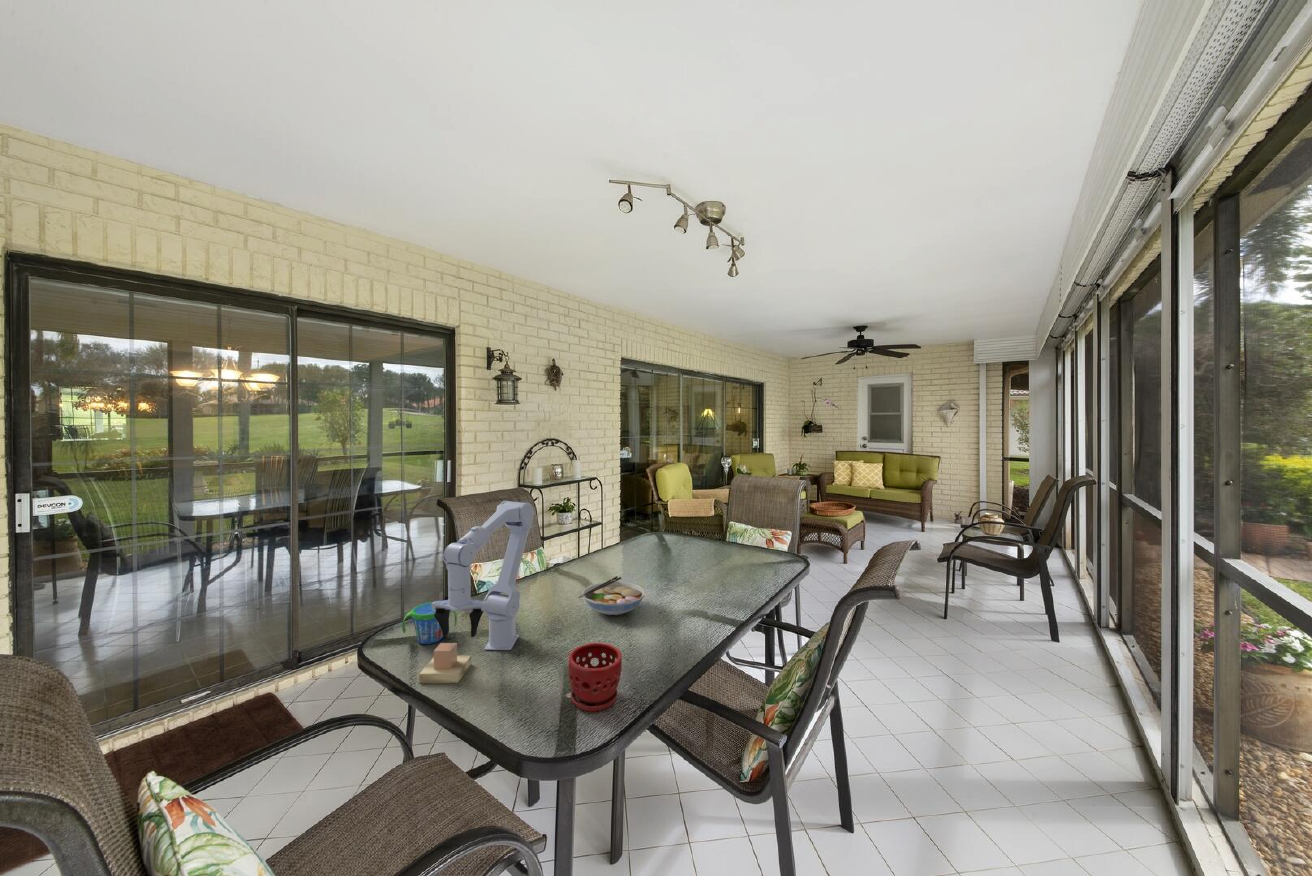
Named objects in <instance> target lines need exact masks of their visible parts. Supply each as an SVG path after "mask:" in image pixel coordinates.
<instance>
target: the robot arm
mask: <svg viewBox="0 0 1312 876" xmlns="http://www.w3.org/2000/svg"><path fill="white" fill-rule="evenodd" d="M534 517H535V511H534V508H533V505H532V504H531V503H530V502H519V501H509V500H503V501H502V502H500V504H498V505H497V506H496V510H495V512H494V513H493V514H492V515H491V516H490V517H489V518H488V519H487V520H486V521H485V522H484V523H483V524H482V525H481V526H479V525H476V526H473V527H471V528H470V530H469V531H468V532H467V533H466V534H465V535H464V536H462V537H461V538H459V540H457V542H451V543H450V544H449V545H447V546H446V547H445V548H444V552H443V554H442V560H443V562H444V563H445V565H446V566H445V569H446V570H447V586H448V587H447V591H448V592H447V593H448V595H447V598H448V599H446V600H434V601H433V603H432V610H433V611H435V610H436V612H435V613H434V617H435V618H436V620H437V621H438V623H439V625H440V627H441V630H442V633H443V638H444V637H447V636H448V635H449V634H450V613H451V612H452V611H456V612H457V611H459V610H460V611H461V610H462V611H471V612H470V613H469V614H468V615H469V619H470V637H471V638H474V637H475V636H476V635H477V631H478V627H479V623H480V620H481V618H482V615H483V613H486V617H488V642H487V644H486V645H485V647H484V650H485V651H510V650H512V648H513V647H514V645H515V644H516V641H517V640H518V638H519V634H516V621H517V620H516V614H517V613H518V612H519V609H520V598H521V592H520V591H519V589H518V588H517V587H516V582H517V578H518V575H519V570H520V567H521V563H522V558H523V555H524V552H525V547H526V544H527V539H528V537H529V532H530V530H531V528H532V524H533V520H534ZM503 525H505V527H506V528H508V530H509V532H510V535H509V539H508V542H507V547H506V549H505V554H504V556H503V561H502V563H501V569H500V571H499V575H498V580H497V582H496V583H494V584H493V585H491V586H490V587H489V588H488V591H487V593H486V596H485V597H484V599H483V600H477V599H473V598H472V597H471V596H472V595H471V594H472V592H471V587H472V585H471V565H472V564H473V562H474V561H475V558H476V556H477V554H478V552H479V551H480V550H481V549H482V548H483V547H484V546H485V545H487V544H488V542H489V541H490V536H491V535H492V534H493V533H494V532H495V531H497V530H499V528H501V527H502V526H503ZM502 593H504V594H502ZM471 598H472V599H471ZM450 610H451V611H450Z"/></svg>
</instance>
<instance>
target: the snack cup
mask: <svg viewBox="0 0 1312 876" xmlns="http://www.w3.org/2000/svg"><path fill="white" fill-rule="evenodd" d="M433 602H434V601H433ZM433 602H432V601H431V602H426V603H422V604H419V605H417V606H414V608H412V609H411V610H410V611H409V612H407V613H406V615H405V616H404V618H403V620H402V625H401V629H402V633H404V634H406V626H405V625H406V624H405V620H406V619H407V618H408V617H411V619H412V622H413V626H414V632H415V636H416V640H417V642H418V643H419V644H422V645H430V644H435V643H438V642H439V641H441V640H442V639H443V638H444V637H443V633H442V630H441V627H440V625H439V623H438V621H437V620H436V618H435V617H434V613H435V612H436V610H435V611H433V610H432V603H433ZM450 612H453V615H454V627H456V625H457V623H458V613H457V611H451V610H450Z"/></svg>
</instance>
